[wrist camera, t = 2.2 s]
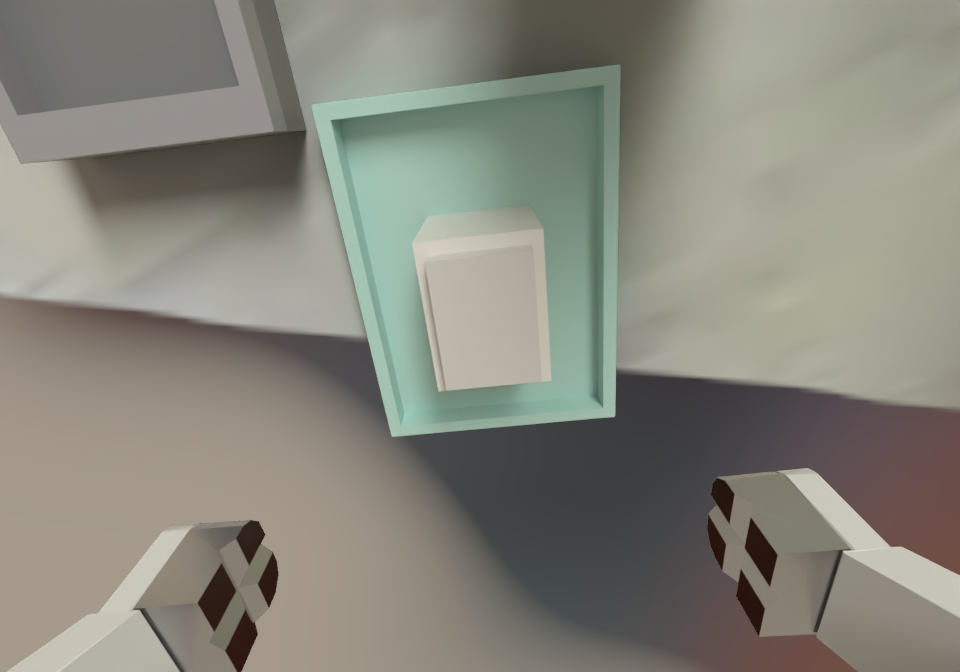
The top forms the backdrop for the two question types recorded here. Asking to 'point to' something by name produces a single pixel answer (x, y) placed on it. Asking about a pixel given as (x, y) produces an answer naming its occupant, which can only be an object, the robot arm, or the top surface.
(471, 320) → the plug
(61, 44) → the grey compartment holder
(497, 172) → the tray
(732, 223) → the top surface
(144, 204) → the top surface
